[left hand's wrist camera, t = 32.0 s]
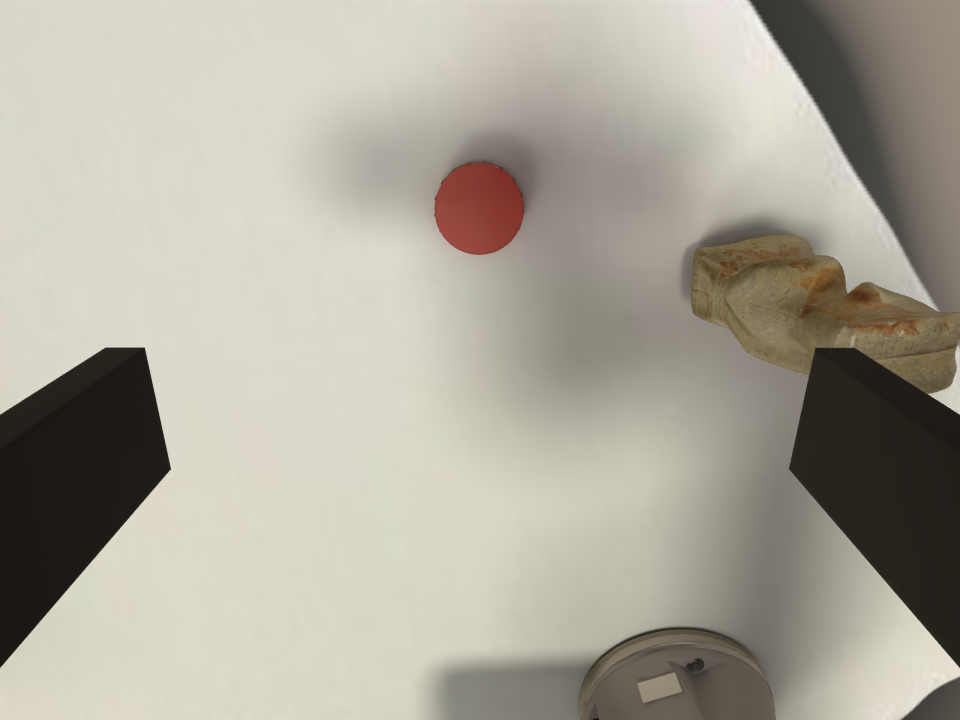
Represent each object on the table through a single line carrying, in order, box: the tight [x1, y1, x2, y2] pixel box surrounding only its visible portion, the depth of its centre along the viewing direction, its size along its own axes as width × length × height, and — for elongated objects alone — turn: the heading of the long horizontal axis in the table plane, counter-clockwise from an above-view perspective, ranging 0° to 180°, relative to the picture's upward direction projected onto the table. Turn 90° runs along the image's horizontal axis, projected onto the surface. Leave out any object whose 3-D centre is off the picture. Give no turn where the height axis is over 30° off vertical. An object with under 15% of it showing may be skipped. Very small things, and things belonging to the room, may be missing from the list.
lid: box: [434, 161, 524, 255], centre depth 36 cm, size 5×5×2 cm
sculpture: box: [691, 234, 960, 394], centre depth 31 cm, size 6×7×15 cm
